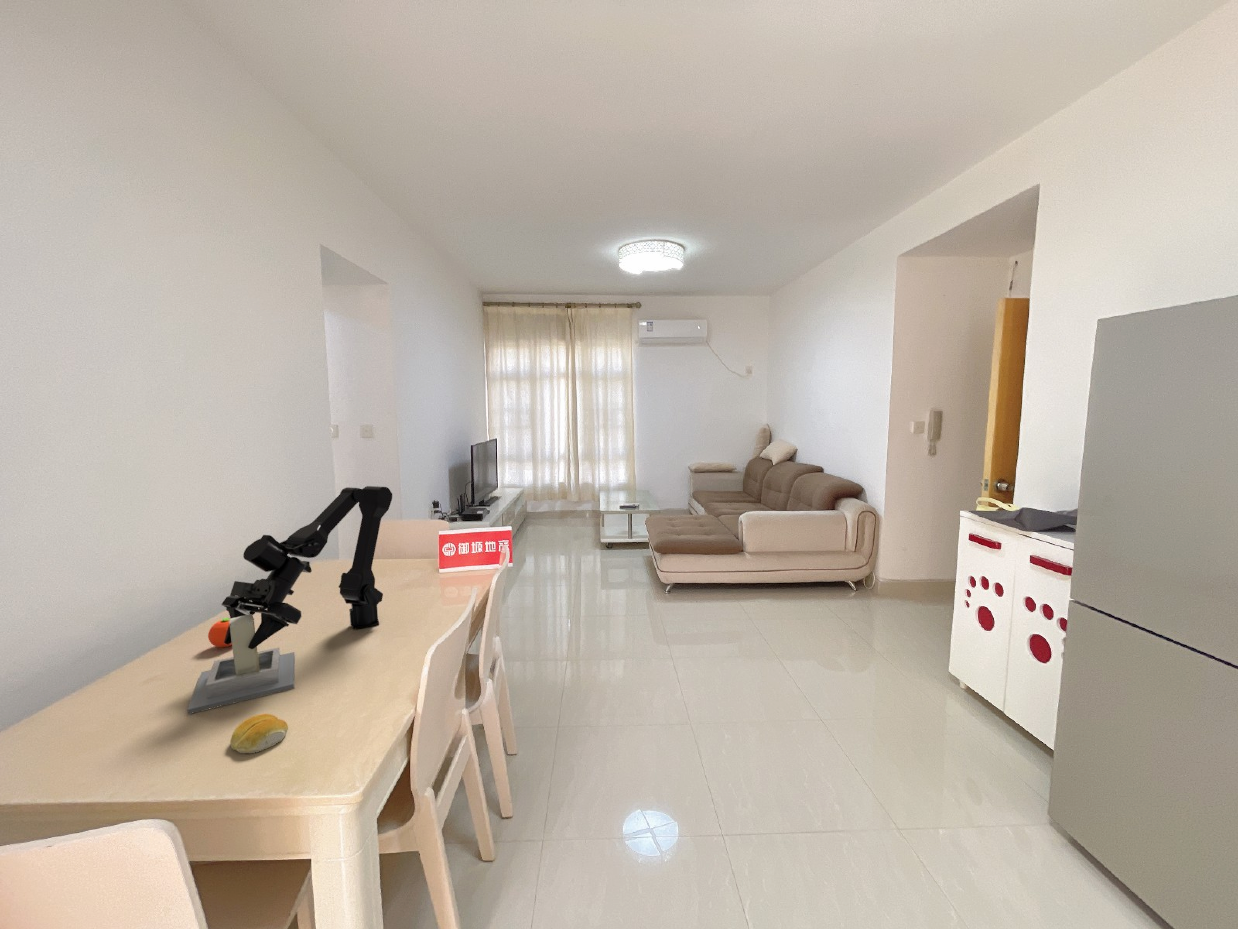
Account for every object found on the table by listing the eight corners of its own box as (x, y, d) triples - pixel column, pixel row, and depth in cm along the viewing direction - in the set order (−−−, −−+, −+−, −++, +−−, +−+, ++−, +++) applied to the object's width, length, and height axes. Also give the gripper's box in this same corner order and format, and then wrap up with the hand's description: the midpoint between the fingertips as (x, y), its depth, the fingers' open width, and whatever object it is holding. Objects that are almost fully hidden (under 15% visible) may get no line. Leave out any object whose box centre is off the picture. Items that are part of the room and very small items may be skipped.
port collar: (280, 659, 124) (279, 647, 124) (278, 682, 114) (277, 668, 114) (215, 673, 118) (214, 661, 118) (207, 699, 107) (205, 685, 107)
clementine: (215, 641, 137) (212, 615, 137) (247, 636, 140) (244, 611, 139) (205, 654, 130) (202, 627, 129) (238, 649, 133) (236, 622, 132)
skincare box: (260, 674, 115) (255, 621, 114) (235, 681, 112) (229, 627, 111) (257, 663, 120) (252, 613, 118) (233, 670, 117) (228, 618, 116)
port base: (294, 655, 128) (294, 652, 128) (294, 688, 113) (293, 683, 113) (202, 676, 119) (201, 672, 119) (187, 714, 104) (187, 709, 104)
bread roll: (270, 721, 101) (269, 702, 101) (295, 736, 97) (293, 715, 96) (221, 745, 94) (219, 724, 94) (245, 761, 90) (243, 739, 89)
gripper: (225, 561, 120) (177, 626, 111) (284, 568, 114) (238, 638, 105) (262, 583, 128) (220, 645, 119) (319, 590, 122) (279, 657, 113)
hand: (237, 646), depth 114 cm, fingers closed on skincare box, 7 cm apart
